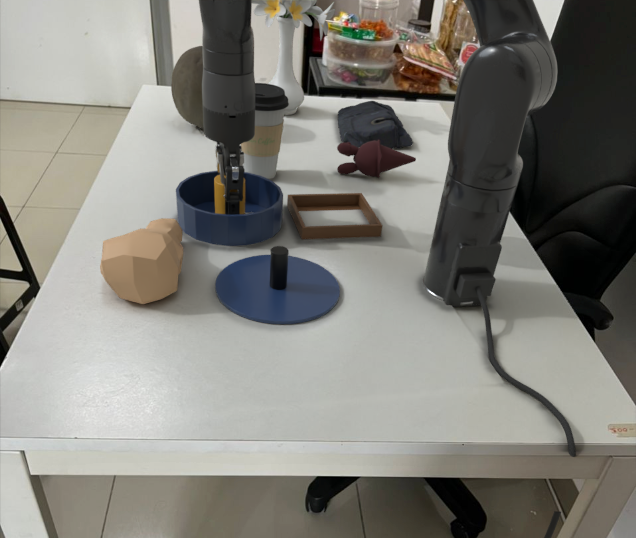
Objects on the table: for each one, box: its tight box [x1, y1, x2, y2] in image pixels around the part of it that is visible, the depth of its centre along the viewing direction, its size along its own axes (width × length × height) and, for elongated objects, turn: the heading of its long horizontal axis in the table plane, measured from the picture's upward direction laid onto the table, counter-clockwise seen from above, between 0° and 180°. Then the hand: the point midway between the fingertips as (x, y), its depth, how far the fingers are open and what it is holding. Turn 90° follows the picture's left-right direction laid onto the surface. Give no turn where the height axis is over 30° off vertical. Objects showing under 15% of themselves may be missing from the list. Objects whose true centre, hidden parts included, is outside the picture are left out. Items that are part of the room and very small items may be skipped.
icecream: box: [336, 140, 417, 179], centre depth 122 cm, size 7×7×15 cm
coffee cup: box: [240, 82, 289, 180], centre depth 115 cm, size 9×9×15 cm
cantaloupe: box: [170, 45, 204, 130], centre depth 132 cm, size 14×14×15 cm
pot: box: [175, 170, 284, 247], centre depth 103 cm, size 17×17×6 cm
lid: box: [214, 245, 341, 325], centre depth 88 cm, size 17×17×7 cm
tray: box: [286, 192, 384, 240], centre depth 107 cm, size 12×13×2 cm
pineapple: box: [214, 175, 246, 214], centre depth 101 cm, size 5×5×9 cm
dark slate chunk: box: [337, 100, 414, 150], centre depth 141 cm, size 15×22×5 cm
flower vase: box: [252, 0, 336, 116], centre depth 140 cm, size 13×18×25 cm
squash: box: [99, 217, 184, 305], centre depth 89 cm, size 11×20×9 cm, turn 0°
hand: (230, 213), depth 103 cm, fingers closed on pineapple, 4 cm apart
